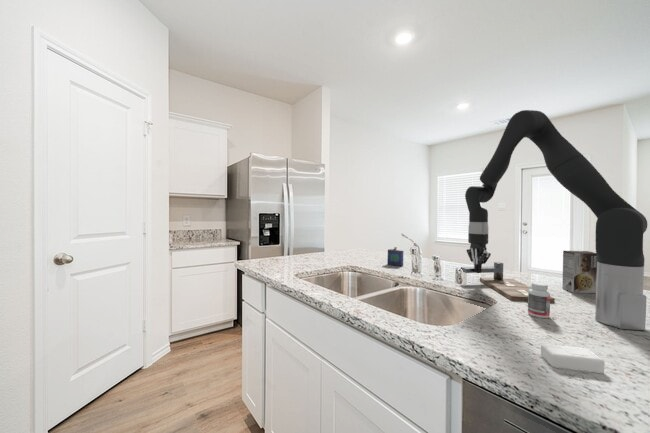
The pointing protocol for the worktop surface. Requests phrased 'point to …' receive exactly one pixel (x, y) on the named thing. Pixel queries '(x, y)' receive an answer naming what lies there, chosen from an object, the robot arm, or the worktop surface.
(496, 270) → the swing arm
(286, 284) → the worktop surface
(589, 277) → the coffee box
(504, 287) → the label board
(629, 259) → the robot arm
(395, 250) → the flask
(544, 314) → the pill bottle
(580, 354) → the soap
